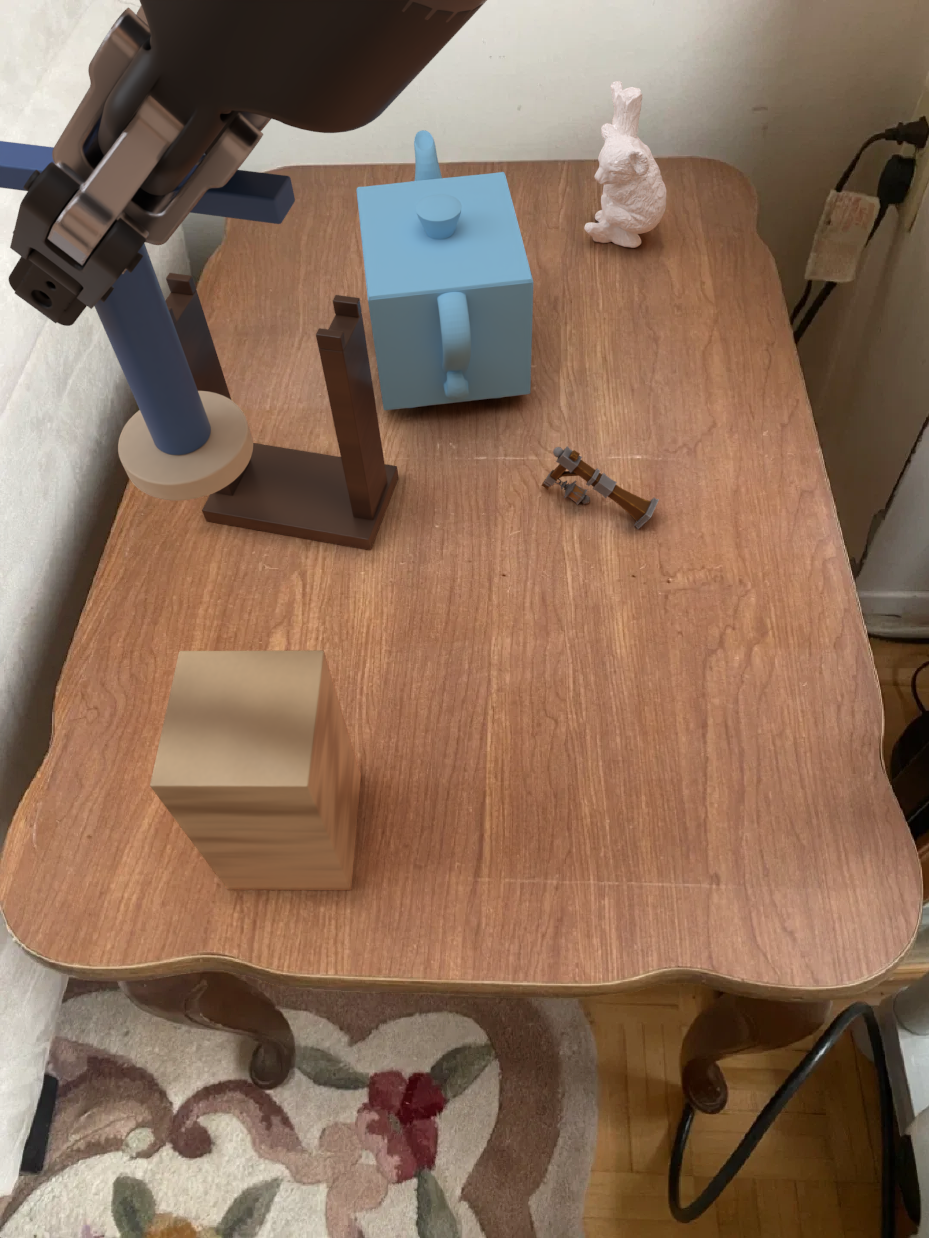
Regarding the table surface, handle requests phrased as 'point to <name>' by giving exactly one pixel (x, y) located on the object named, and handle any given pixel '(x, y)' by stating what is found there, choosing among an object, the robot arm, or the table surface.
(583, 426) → the table surface
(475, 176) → the teapot
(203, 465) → the bar
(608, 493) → the hanging lantern post
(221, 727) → the riser
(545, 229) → the table surface
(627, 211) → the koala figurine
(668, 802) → the table surface
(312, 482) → the stand
